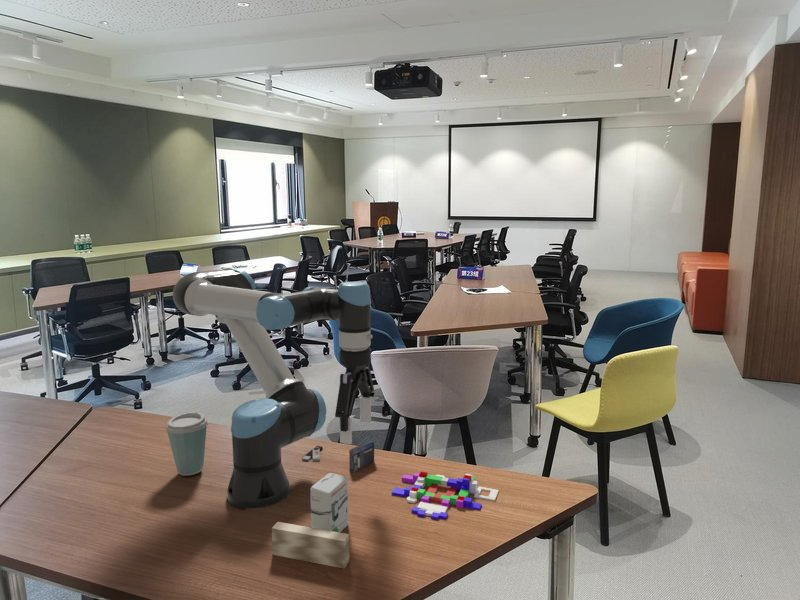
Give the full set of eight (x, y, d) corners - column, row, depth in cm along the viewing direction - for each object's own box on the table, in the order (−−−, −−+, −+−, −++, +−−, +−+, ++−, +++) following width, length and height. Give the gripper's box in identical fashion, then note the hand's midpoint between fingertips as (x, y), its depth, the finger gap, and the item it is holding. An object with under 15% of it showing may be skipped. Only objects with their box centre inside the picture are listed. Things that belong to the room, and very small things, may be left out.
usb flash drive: (316, 448, 169) (316, 445, 169) (331, 451, 167) (331, 448, 167) (301, 460, 161) (301, 457, 161) (317, 463, 159) (317, 460, 159)
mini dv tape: (353, 472, 154) (353, 451, 153) (349, 470, 155) (349, 450, 154) (374, 462, 160) (374, 442, 159) (370, 460, 161) (370, 440, 160)
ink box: (329, 544, 121) (328, 493, 119) (309, 539, 123) (308, 488, 121) (349, 524, 129) (348, 475, 127) (330, 519, 131) (329, 471, 129)
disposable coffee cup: (192, 482, 147) (188, 427, 145) (159, 475, 151) (155, 422, 149) (218, 465, 157) (215, 413, 155) (186, 459, 161) (183, 408, 158)
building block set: (381, 510, 136) (381, 492, 135) (409, 472, 155) (409, 457, 154) (484, 531, 128) (485, 512, 127) (500, 488, 147) (501, 472, 146)
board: (272, 554, 117) (271, 528, 116) (278, 547, 120) (277, 521, 119) (344, 568, 113) (344, 541, 112) (349, 561, 115) (349, 534, 114)
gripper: (351, 362, 122) (352, 455, 126) (385, 336, 146) (386, 415, 149) (318, 359, 124) (321, 451, 128) (358, 335, 148) (359, 412, 151)
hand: (356, 432), depth 139 cm, fingers open, 13 cm apart
